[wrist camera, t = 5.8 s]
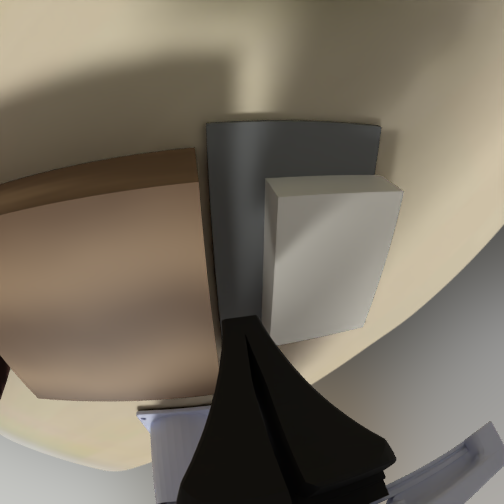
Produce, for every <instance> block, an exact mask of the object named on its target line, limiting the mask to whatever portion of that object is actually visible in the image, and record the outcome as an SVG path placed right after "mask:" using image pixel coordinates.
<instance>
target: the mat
mask: <svg viewBox="0 0 504 504" xmlns="http://www.w3.org/2000/svg"><path fill="white" fill-rule="evenodd" d="M380 134H381V127H380V126H378V125H368V124H357V123H343V122H326V121H297V120H262V121H232V122H215V123H206V137H207V158H208V177H209V193H210V209H211V223H212V237H213V250H214V262H215V273H216V285H217V295H218V306H219V316H220V326H221V335H222V325H221V321H222V320H224V319H229V318H236V317H244V316H251V315H257V316H258V317H259V319H260V320H261V321H262V290H263V257H264V220H265V178H279V177H298V176H325V175H374V174H375V168H376V161H377V155H378V148H379V141H380Z"/></svg>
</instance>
